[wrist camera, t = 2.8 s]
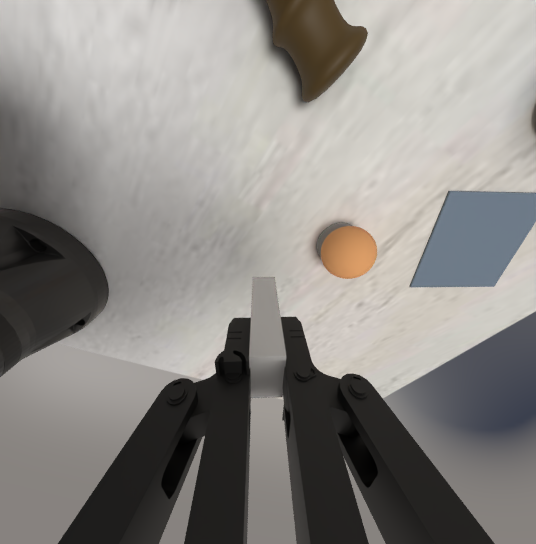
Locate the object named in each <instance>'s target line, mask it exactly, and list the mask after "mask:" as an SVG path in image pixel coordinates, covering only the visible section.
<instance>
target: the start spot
mask: <svg viewBox="0 0 536 544" xmlns="http://www.w3.org/2000/svg"><path fill="white" fill-rule="evenodd" d="M345 226H352V225H351V224H348V223H336V224H333V225H331V226H329V227H328V228H326V229H325V230H324V231H323V232H322V234H321V235H320V237H319V239H318V243H317V250H318V253H319V255H320V257H321V247H322V244H323V242H324V240H325V239H326V237H327V236H328V235H329V234H330V233H331V232H333V231H334V230H336V229H338V228H341V227H345Z"/></svg>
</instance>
